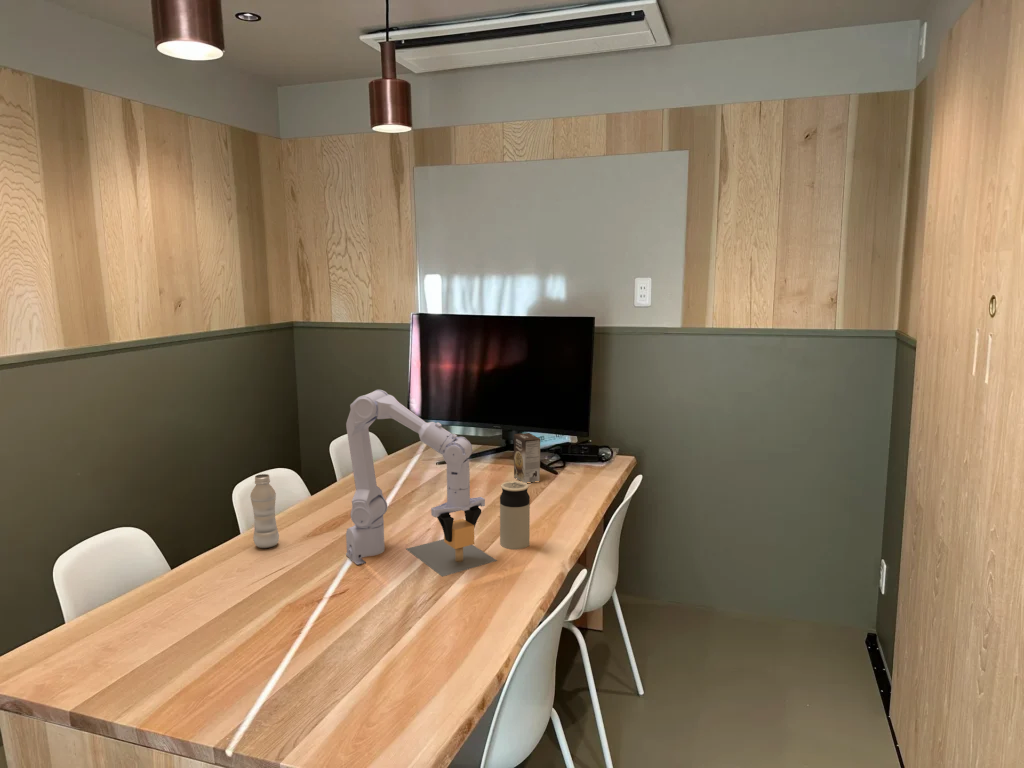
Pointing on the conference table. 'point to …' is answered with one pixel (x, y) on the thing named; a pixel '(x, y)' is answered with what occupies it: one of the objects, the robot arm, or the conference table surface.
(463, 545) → the wooden toy cube
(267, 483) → the plastic bottle
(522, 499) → the travel mug
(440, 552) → the board
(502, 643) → the conference table surface
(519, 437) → the coffee box
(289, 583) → the conference table surface
